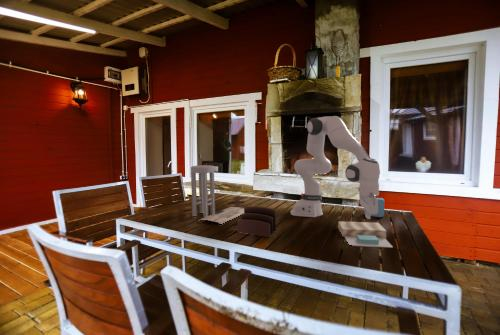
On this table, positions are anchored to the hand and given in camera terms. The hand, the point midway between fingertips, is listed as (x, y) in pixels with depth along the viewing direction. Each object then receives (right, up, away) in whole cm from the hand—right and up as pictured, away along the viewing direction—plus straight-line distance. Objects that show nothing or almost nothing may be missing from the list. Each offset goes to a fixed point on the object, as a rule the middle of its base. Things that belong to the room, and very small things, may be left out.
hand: (367, 218), depth 135 cm
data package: (+25, -8, +48) cm, 55 cm away
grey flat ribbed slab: (-76, -9, +51) cm, 92 cm away
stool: (-92, -9, +54) cm, 107 cm away
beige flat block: (+2, -11, +14) cm, 18 cm away
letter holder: (-56, -12, +17) cm, 59 cm away
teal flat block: (0, -10, 0) cm, 10 cm away
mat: (0, -12, +1) cm, 12 cm away
